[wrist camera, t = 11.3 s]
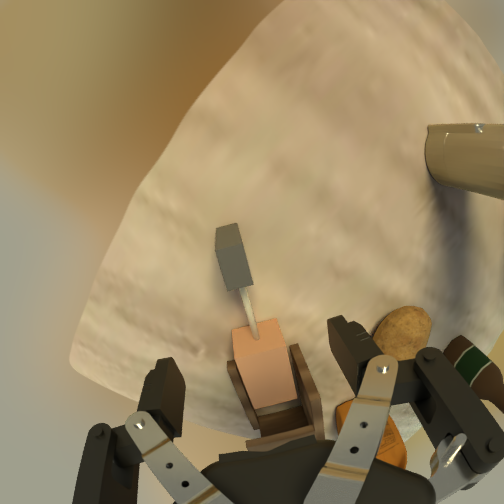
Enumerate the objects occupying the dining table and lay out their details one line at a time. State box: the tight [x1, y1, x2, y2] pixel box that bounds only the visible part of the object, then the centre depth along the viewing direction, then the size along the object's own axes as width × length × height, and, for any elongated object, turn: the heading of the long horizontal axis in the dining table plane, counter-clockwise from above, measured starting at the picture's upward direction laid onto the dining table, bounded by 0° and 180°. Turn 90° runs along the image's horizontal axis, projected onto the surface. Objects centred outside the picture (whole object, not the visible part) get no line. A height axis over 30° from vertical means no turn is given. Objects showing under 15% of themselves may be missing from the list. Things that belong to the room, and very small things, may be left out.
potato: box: [373, 306, 432, 361], centre depth 36 cm, size 10×14×8 cm
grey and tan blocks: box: [215, 223, 297, 409], centre depth 31 cm, size 24×6×8 cm, turn 13°
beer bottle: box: [443, 335, 504, 413], centre depth 34 cm, size 8×8×24 cm
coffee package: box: [336, 400, 407, 469], centre depth 35 cm, size 10×12×22 cm
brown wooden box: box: [227, 343, 325, 452], centre depth 35 cm, size 16×10×11 cm, turn 13°
